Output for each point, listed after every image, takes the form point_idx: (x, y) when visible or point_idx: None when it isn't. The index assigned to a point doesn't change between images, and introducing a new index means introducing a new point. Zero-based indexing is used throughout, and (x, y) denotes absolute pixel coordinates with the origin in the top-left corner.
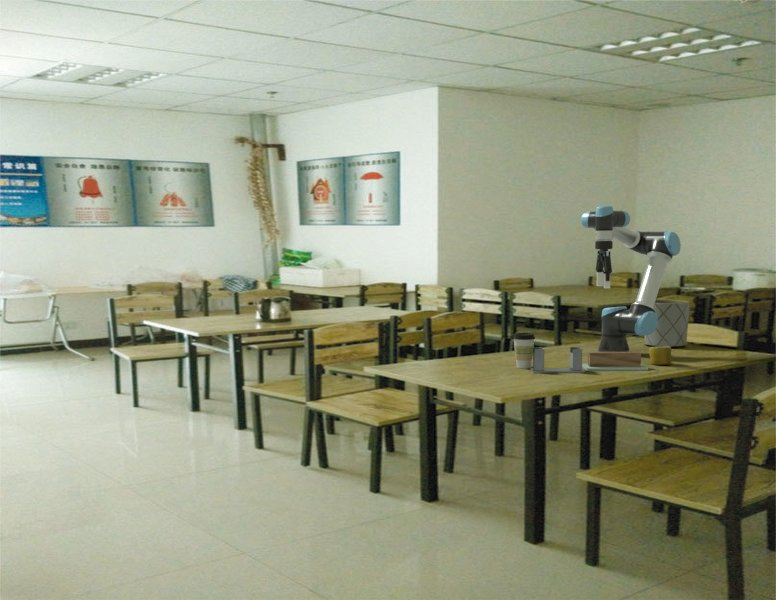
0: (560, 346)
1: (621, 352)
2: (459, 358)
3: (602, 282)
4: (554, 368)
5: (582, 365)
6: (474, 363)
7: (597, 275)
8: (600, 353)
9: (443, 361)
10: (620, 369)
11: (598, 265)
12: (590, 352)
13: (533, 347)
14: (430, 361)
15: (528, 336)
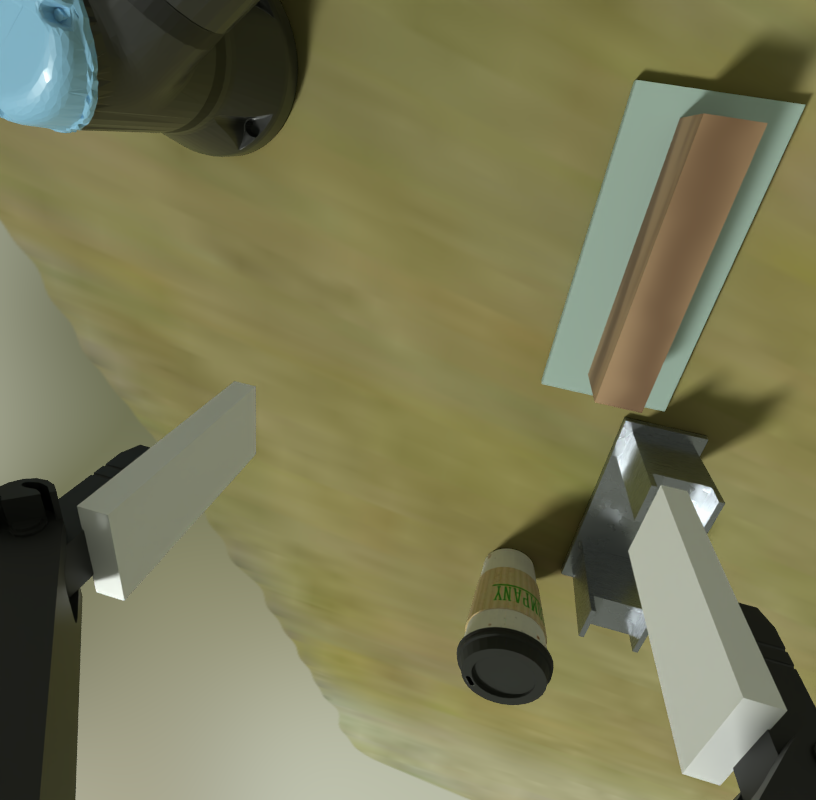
0: (26, 251)
1: (691, 243)
2: (308, 645)
3: (226, 419)
4: (603, 513)
5: (566, 387)
6: (401, 647)
7: (163, 554)
8: (662, 364)
9: (354, 690)
10: (729, 265)
11: (74, 768)
12: (620, 400)
13: (581, 635)
14: (350, 711)
15: (547, 675)
